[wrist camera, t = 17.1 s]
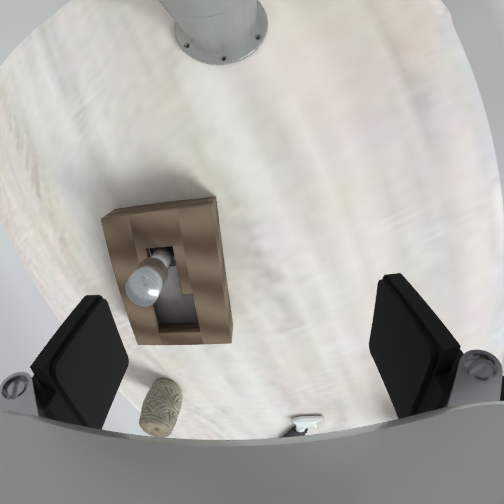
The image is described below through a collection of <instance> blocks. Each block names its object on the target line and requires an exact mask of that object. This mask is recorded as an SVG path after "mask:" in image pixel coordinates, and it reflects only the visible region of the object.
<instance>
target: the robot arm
mask: <svg viewBox="0 0 504 504" xmlns="http://www.w3.org/2000/svg"><path fill="white" fill-rule="evenodd" d="M159 1H160V2H161V3H162V5H163V6H164V7H165V8H166V10H167V11H168V12H169V14H170V15H171V16H172V17H173V19H174V20H175V21H176V23H175V34H176V39H177V41H178V43H179V45H180V46H181V48H182V49H183V50H184V51H185V52H186V54H188V55H189V56H190V57H192V58H193V59H195V60H197V61H200V62H202V63H206V64H212V65H225V64H231V63H235V62H238V61H240V60H243V59H245V58H246V57H248V56H249V55H251V54H252V53H253V52H254V51H256V50H257V49H258V47H259V46H260V45H261V44H262V42H263V40H264V38H265V36H266V32H267V26H268V21H267V15H266V12H265V10H264V8H263V6H262V5H261V3H260V2H259V1H258V0H159ZM257 37H259V38H260V39H259V40H257V39H256V38H257ZM188 45H189V48H186V47H187V46H188ZM223 58H226V60H225V61H223V60H222V59H223ZM369 349H370V353H371V355H372V357H373V359H374V361H375V364H376V366H377V368H378V370H379V373H380V375H381V377H382V380H383V382H384V384H385V387H386V389H387V391H388V394H389V396H390V398H391V401H392V403H393V406H394V408H395V411H396V413H397V415H398V418H399V419H397V420H393V421H388V422H384V423H379V424H374V425H369V426H364V427H358V428H353V429H347V430H341V431H335V432H328V433H321V434H313V435H305V436H295V437H284V438H270V439H251V440H196V439H176V438H163V437H152V436H142V435H133V434H126V433H119V432H112V431H106V430H102V427H103V424H104V422H105V419H106V417H107V414H108V412H109V409H110V407H111V405H112V402H113V400H114V397H115V395H116V393H117V390H118V388H119V386H120V383H121V381H122V379H123V376H124V374H125V372H126V369H127V367H128V363H129V359H128V355H127V353H126V350H125V348H124V345H123V343H122V340H121V338H120V335H119V333H118V330H117V327H116V325H115V322H114V319H113V316H112V314H111V311H110V308H109V305H108V302H107V301H106V299H103V297H102V296H100V295H87V296H85V297H84V298H83V299H82V300H81V302H80V303H79V304H78V305H77V306H76V308H75V309H74V310H73V311H72V312H71V314H70V315H69V316H68V317H67V319H66V320H65V321H64V322H63V324H62V325H61V326H60V328H59V329H58V330H57V331H56V333H55V334H54V335H53V337H52V338H51V339H50V341H49V342H48V343H47V345H46V346H45V347H44V349H43V350H42V351H41V353H40V354H39V355H38V357H37V358H36V359H35V361H34V362H33V364H32V365H31V366H30V368H31V369H32V371H33V373H34V376H33V377H31V376H30V375H29V374H28V373H25V372H18V373H15V374H12V375H10V376H9V377H7V378H6V379H5V380H4V381H3V383H2V384H1V385H0V504H504V376H502V366H501V364H500V362H499V360H498V359H497V358H496V357H495V356H494V355H492V354H491V353H489V352H486V351H484V350H470V351H468V352H466V353H465V354H463V352H462V351H461V350H460V345H459V343H458V342H457V341H456V339H455V338H454V337H453V335H452V334H451V333H450V332H449V330H448V329H447V328H446V327H445V325H444V324H443V323H442V322H441V320H440V319H439V318H438V317H437V315H436V314H435V313H434V312H433V310H432V309H431V308H430V307H429V306H428V304H427V303H426V302H425V301H424V300H423V298H422V297H421V296H420V295H419V294H418V292H417V291H416V290H415V289H414V288H413V287H412V286H411V284H410V283H409V282H408V281H407V280H406V279H405V278H404V276H403V275H402V274H400V273H397V274H388V275H384V276H383V279H382V280H379V282H378V287H377V295H376V302H375V309H374V316H373V323H372V329H371V335H370V340H369Z"/></svg>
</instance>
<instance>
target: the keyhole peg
mask: <svg viewBox="0 0 504 504" xmlns="http://www.w3.org/2000/svg"><path fill="white" fill-rule="evenodd" d="M150 251H151V254H152V256H151V257H150V258H146V259H144V260H143V261H142V262H141V263H140V264H139V266H138V267H137V268H136V270H135V271H134V272H133V274H132V275H131V277H130V278H129V279H128V281H127V282H126V285H125V291H126V294H127V296H128V298H129V299H130V300H131V301H132V302H133V303H135V304H137V305H139V306H145V307H146V306H150V305H152V304H154V303H155V302H156V300H157V298H158V296H159V294H160V292H161V290H162V288H163V286H164V284H165V282H166V280H167V278H168V267H169V266H175V265H176V260H175V255H174V250H173V246H168V247H157V248H150Z"/></svg>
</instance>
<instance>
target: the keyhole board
mask: <svg viewBox="0 0 504 504" xmlns="http://www.w3.org/2000/svg"><path fill="white" fill-rule="evenodd" d="M101 222H102V226H103V230H104V235H105V239H106V243H107V247H108V251H109V255H110V258H111V262H112V266H113V269H114V273H115V277H116V280H117V283H118V287H119V290H120V293H121V297H122V300H123V303H124V306H125V309H126V312H127V315H128V318H129V321H130V324H131V327H132V330H133V333H134V335H135V338H136V341H137V344H138V345H198V344H226V343H232V331H233V321H232V314H231V307H230V300H229V293H228V286H227V279H226V271H225V264H224V257H223V249H222V241H221V233H220V225H219V217H218V209H217V201H216V197H209V198H200V199H190V200H182V201H173V202H165V203H157V204H149V205H141V206H134V207H127V208H120V209H115V210H113V211H112V212H110V213H109V214H107V215H106V216H104V217H103V218H101ZM168 246H173V250H174V255H175V260H176V265H177V270H178V275H179V280H180V285H181V289H182V294H193V298H194V303H195V308H196V313H197V317H198V322H199V323H171V324H158V321H157V317H156V314H155V310H154V307H153V304H152V305H150V306H146V307H145V306H139V305H137V304H135V303H133V302H132V301H131V300H130V299H129V298H128V296H127V294H126V291H125V285H126V282H127V281H128V279H129V278H130V277H131V275H132V274H133V272H134V271H135V270H136V268H137V267H138V266H139V264H140V263H141V262H142V261H143V260H144V259H146V258H150V253H149V249H148V248H157V247H168Z"/></svg>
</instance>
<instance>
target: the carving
mask: <svg viewBox="0 0 504 504" xmlns="http://www.w3.org/2000/svg"><path fill="white" fill-rule="evenodd" d="M181 404H182V391H181V389H180V388H179V387H178V385H177V384H175V383H174V382H172V381H170V380H167V379H158V380H156V381H155V382H154V384H153V385H152V387H151V388H150V390H149V391H148V393H147V395H146V397H145V399H144V402H143V406H142V410H141V411H142V412H141V416H140V419H139V424H140V427H141V428H142V429H143V431H145V432H146V433H148V434H149V435H152V436H155V437H163V438H164V437H167V436H169V435H170V434H171V432H172V430H173V428H174V426H175V424H176V421H177V417H178V414H179V412H180V409H181Z"/></svg>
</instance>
